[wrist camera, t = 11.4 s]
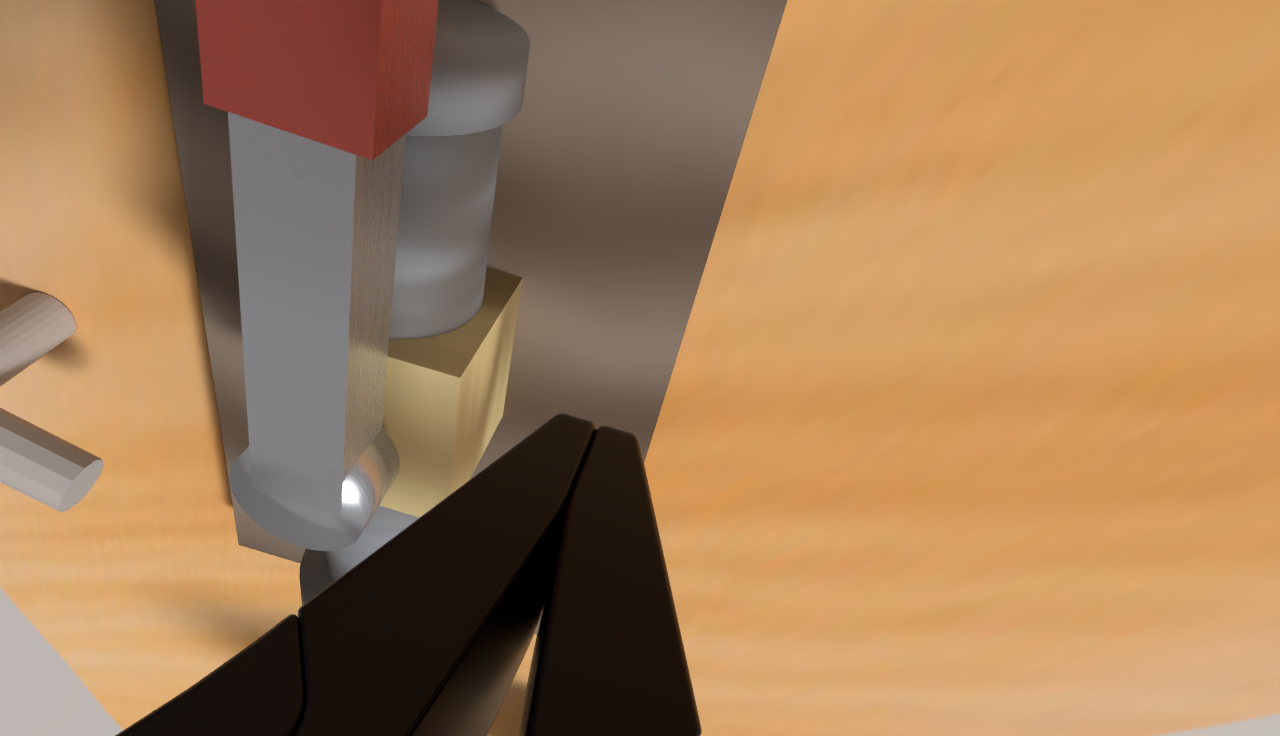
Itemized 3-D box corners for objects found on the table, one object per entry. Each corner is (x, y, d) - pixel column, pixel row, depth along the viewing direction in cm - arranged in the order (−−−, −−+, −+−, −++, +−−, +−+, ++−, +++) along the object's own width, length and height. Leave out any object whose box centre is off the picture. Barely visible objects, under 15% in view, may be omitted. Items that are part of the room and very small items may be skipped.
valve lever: (397, 506, 19) (358, 570, 18) (280, 467, 19) (231, 528, 18) (478, -247, 10) (413, -255, 9) (256, -323, 10) (150, -345, 8)
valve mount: (171, -208, 17) (-114, -209, 12) (795, -32, 17) (782, 45, 12) (261, 516, 32) (150, 657, 26) (595, 616, 31) (549, 779, 26)
